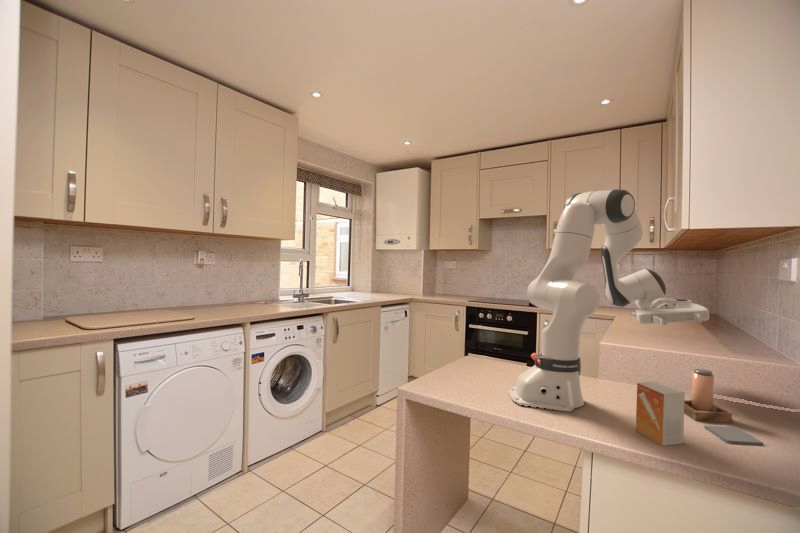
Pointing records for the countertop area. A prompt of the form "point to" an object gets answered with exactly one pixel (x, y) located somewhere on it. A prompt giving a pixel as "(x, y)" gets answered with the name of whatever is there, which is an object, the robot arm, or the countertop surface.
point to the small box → (660, 412)
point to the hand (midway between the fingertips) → (681, 321)
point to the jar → (702, 390)
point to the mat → (733, 435)
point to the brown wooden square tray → (707, 413)
